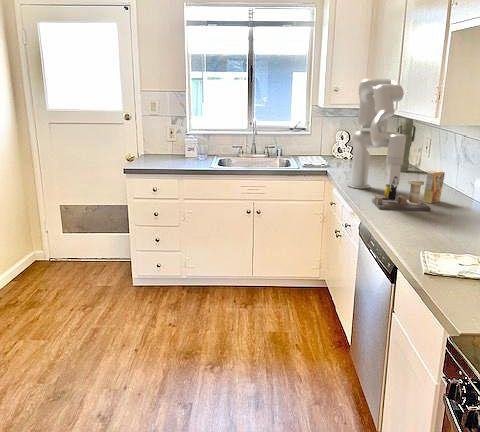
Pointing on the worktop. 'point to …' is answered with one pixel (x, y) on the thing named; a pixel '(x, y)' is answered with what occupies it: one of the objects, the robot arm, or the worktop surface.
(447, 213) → the worktop surface
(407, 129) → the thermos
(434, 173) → the candy box
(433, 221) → the worktop surface
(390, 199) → the lemon
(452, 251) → the worktop surface
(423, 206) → the board
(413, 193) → the bobbin
